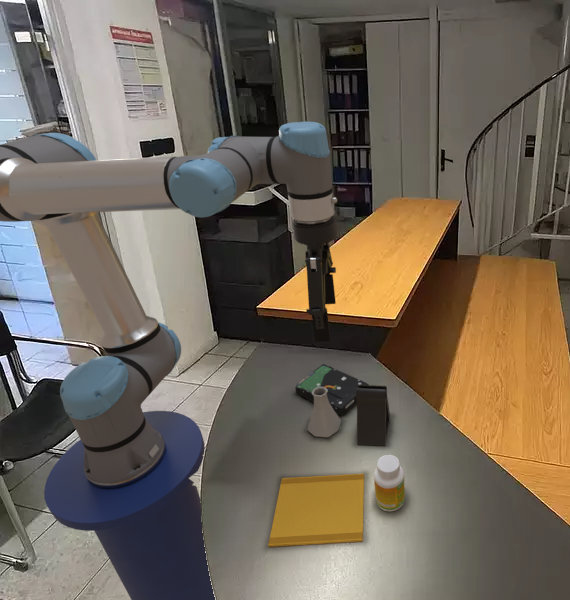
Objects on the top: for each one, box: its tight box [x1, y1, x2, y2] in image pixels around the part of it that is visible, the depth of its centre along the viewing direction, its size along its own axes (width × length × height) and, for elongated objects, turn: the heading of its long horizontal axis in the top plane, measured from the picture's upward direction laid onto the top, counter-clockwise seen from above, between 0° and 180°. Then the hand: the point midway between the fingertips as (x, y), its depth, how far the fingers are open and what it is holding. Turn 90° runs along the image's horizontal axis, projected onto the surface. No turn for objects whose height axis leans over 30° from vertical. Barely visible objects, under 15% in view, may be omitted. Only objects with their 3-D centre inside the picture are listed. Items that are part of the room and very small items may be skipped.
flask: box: [306, 387, 342, 438], centre depth 104 cm, size 7×7×10 cm
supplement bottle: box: [373, 454, 406, 512], centre depth 87 cm, size 5×5×10 cm
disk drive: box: [295, 363, 370, 416], centre depth 116 cm, size 10×3×15 cm
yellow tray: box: [268, 473, 365, 548], centre depth 88 cm, size 16×14×1 cm
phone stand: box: [356, 384, 391, 447], centre depth 102 cm, size 9×6×12 cm, turn 174°
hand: (326, 320), depth 94 cm, fingers open, 13 cm apart
